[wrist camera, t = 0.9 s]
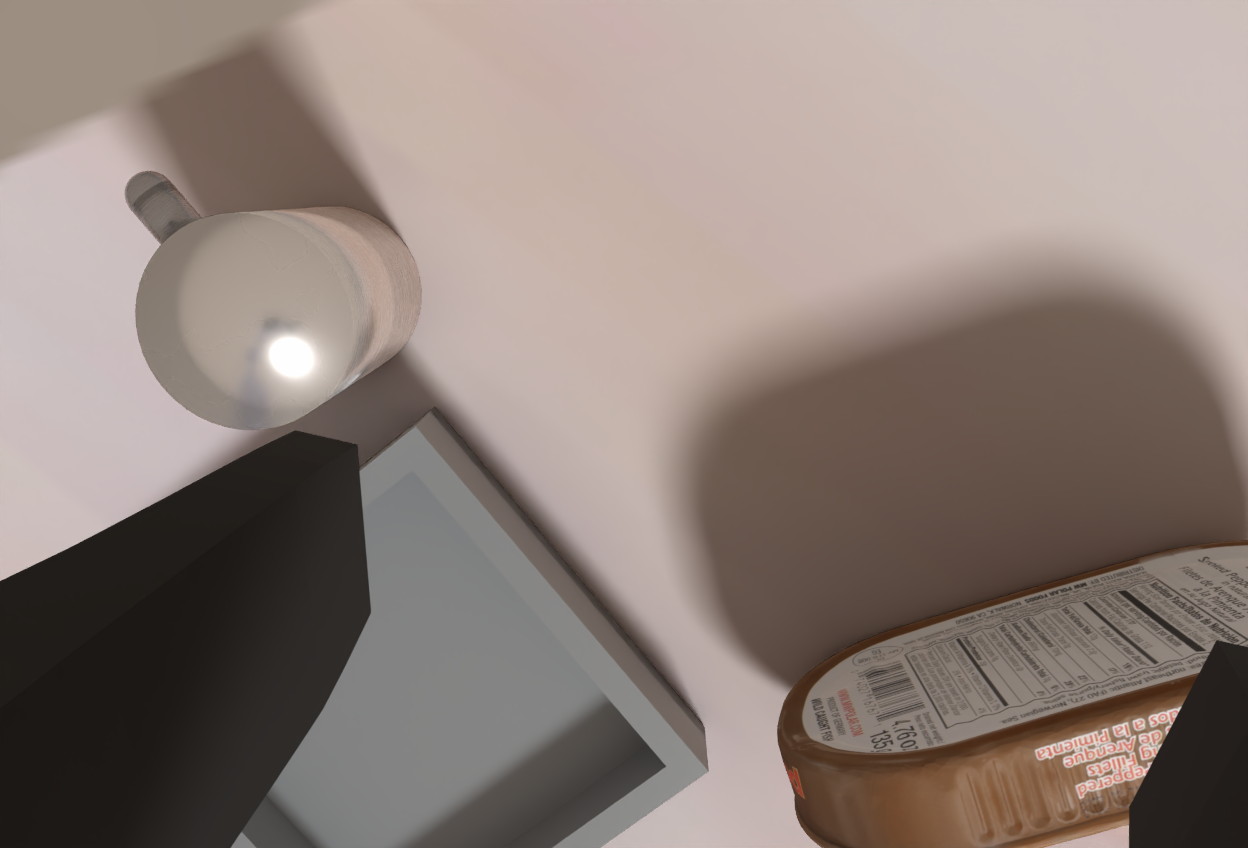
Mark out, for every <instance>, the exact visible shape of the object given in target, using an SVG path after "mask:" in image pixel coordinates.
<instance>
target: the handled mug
mask: <svg viewBox="0 0 1248 848" xmlns="http://www.w3.org/2000/svg"><path fill="white" fill-rule="evenodd" d="M125 199H126V202H127V205H128V206H129V208H130V209H131V211H132V212H133V213H134V214H135V215H136V216H137V217H138V219H139V220H140V221H141V222H142V223H143V224H144V226H145V227H146V228H147V229H148V230H149V231H150V232H151V234H152V235H153V236H154V237H155V238H156V239H157V241H158V242H159V243H160V244H161V246H160V247H159V248H158V249H157V251H156V252H155V254H154V255H153V256H152V258H151V259H150V261H149V263H148V265H147V267H146V268H145V270H144V273H143V276H142V278H141V281H140V284H139V289H138V293H137V298H136V310H135V313H136V328H137V333H138V339H139V342H140V346H141V349H142V352H143V355H144V357H145V359H146V361H147V363H148V366H149V368H150V369H151V371H152V372H153V374H154V376H155V377H156V379H157V380H158V382H159V383H160V384H161V385H162V387H163V388H164V389H165V390H166V391H167V392H168V393H169V394H170V395H171V396H172V397H173V398H174V399H175V400H176V401H177V402H178V403H179V404H181V405H182V406H183V407H185V408H186V409H187V410H189V411H190V412H192V413H194V414H195V415H197V416H199V417H201V418H203V419H205V420H207V421H210V422H212V423H215V424H218V425H221V426H224V427H229V428H235V429H242V430H261V429H269V428H274V427H279V426H282V425H285V424H288V423H291V422H293V421H295V420H297V419H299V418H301V417H303V416H305V415H306V414H308V413H309V412H311V411H312V410H314V409H315V408H317V407H319V406H320V405H322V404H323V403H325V402H326V401H328V400H329V399H331V398H332V397H334V396H335V395H337V394H338V393H340V392H341V391H343V390H344V389H346V388H347V387H349V386H350V385H352V384H354V383H355V382H357V381H358V380H360V379H361V378H363V377H364V376H366V375H367V374H369V373H370V372H372V371H373V370H375V369H376V368H378V367H379V366H381V365H382V364H384V363H385V362H387V361H388V360H390V359H391V358H392V357H394V356H395V355H396V354H397V353H398V352H399V351H400V350H401V349H402V348H403V346H404V345H405V344H406V343H407V341H408V340H409V338H410V336H411V335H412V333H413V331H414V329H415V326H416V324H417V321H418V318H419V314H420V309H421V302H422V289H421V281H420V276H419V272H418V269H417V266H416V263H415V261H414V258H413V256H412V255H411V253H410V251H409V249H408V248H407V246H406V245H405V243H404V242H403V241H402V239H401V238H400V237H399V236H398V235H397V234H396V233H395V232H394V231H393V230H392V229H391V228H390V227H389V226H387V225H386V224H385V223H383V222H382V221H380V220H379V219H377V218H376V217H374V216H372V215H369V214H367V213H365V212H362V211H359V210H356V209H352V208H347V207H336V206H329V207H313V208H298V209H282V210H267V211H251V212H236V213H224V214H217V215H212V216H208V217H204V218H201V216H200V215H199V214H198V213H197V212H196V211H195V209H194V208H193V207H192V206H191V205H190V204H189V202H188V201H187V200H186V199H185V198H184V196H183V195H182V194H181V193H180V192H179V191H178V189H177V188H176V187H175V186H174V185H173V184H172V182H171V181H170V180H169V179H168V178H166V177H165V176H164V175H162V174H160V173H157V172H152V171H145V172H140V173H138V174H136V175H134V176H133V177H132V178H131V179H130V180H129V181H128V183H127V185H126V189H125Z"/></svg>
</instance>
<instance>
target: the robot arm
mask: <svg viewBox="0 0 1248 848" xmlns="http://www.w3.org/2000/svg"><path fill="white" fill-rule="evenodd" d="M370 614H371V604H370V592H369V580H368V568H367V556H366V544H365V532H364V520H363V508H362V496H361V484H360V472H359V460H358V448H357V445H356V444H352V443H348V442H343V441H339V440H334V439H330V438H326V437H321V436H317V435H312V434H308V433H304V432H299V431H293V432H291V433H289V434H287V435H285V436H283V437H281V438H278V439H276V440H274V441H272V442H270V443H268V444H266V445H264V446H262V447H260V448H258V449H256V450H254V451H252V452H250V453H249V454H247V455H245V456H243V457H241V458H239V459H237V460H235V461H233V462H231V463H229V464H228V465H226V466H224V467H222V468H220V469H218V470H216V471H214V472H213V473H211V474H209V475H207V476H205V477H203V478H201V479H200V480H198V481H196V482H194V483H192V484H190V485H188V486H186V487H185V488H183V489H181V490H179V491H177V492H175V493H173V494H172V495H170V496H168V497H166V498H164V499H162V500H160V501H158V502H156V503H155V504H153V505H151V506H149V507H147V508H145V509H143V510H141V511H139V512H137V513H135V514H134V515H132V516H130V517H128V518H126V519H124V520H122V521H120V522H118V523H116V524H114V525H113V526H111V527H109V528H107V529H105V530H103V531H101V532H99V533H97V534H95V535H93V536H92V537H90V538H88V539H86V540H84V541H82V542H80V543H78V544H76V545H74V546H72V547H70V548H68V549H66V550H64V551H62V552H60V553H58V554H56V555H54V556H52V557H50V558H48V559H46V560H43V561H41V562H39V563H37V564H35V565H33V566H31V567H29V568H27V569H25V570H23V571H20V572H18V573H16V574H14V575H12V576H10V577H8V578H6V579H4V580H2V581H0V848H231V846H232V845H233V844H234V842H235V841H236V839H237V838H238V836H239V835H240V833H241V832H242V830H243V829H244V827H245V826H246V824H247V823H248V821H249V820H250V818H251V817H252V815H253V814H254V812H255V811H256V810H257V808H258V807H259V805H260V804H261V802H262V801H263V799H264V798H265V796H266V795H267V793H268V792H269V790H270V789H271V787H272V786H273V784H274V783H275V781H276V780H277V778H278V777H279V775H280V774H281V772H282V771H283V769H284V768H285V766H286V765H287V763H288V762H289V760H290V759H291V757H292V756H293V754H294V753H295V751H296V750H297V748H298V747H299V745H300V744H301V742H302V741H303V739H304V738H305V736H306V735H307V733H308V732H309V730H310V729H311V727H312V726H313V724H314V722H315V721H316V719H317V718H318V716H319V715H320V713H321V712H322V710H323V709H324V707H325V705H326V703H327V701H328V699H329V697H330V695H331V693H332V691H333V689H334V687H335V685H336V684H337V682H338V680H339V678H340V676H341V674H342V672H343V670H344V668H345V666H346V664H347V662H348V660H349V658H350V656H351V654H352V652H353V650H354V647H355V645H356V643H357V641H358V639H359V637H360V635H361V633H362V631H363V629H364V627H365V625H366V623H367V620H368V618H369V616H370ZM1129 848H1248V647H1245V646H1241V645H1236V644H1232V643H1228V642H1223V641H1219V640H1216V642H1215V644H1214V646H1213V648H1212V650H1211V651H1210V653H1209V655H1208V657H1207V659H1206V661H1205V663H1204V665H1203V667H1202V669H1201V671H1200V673H1199V674H1198V676H1197V678H1196V680H1195V682H1194V684H1193V686H1192V688H1191V690H1190V692H1189V694H1188V695H1187V697H1186V699H1185V701H1184V703H1183V705H1182V707H1181V709H1180V711H1179V713H1178V715H1177V716H1176V718H1175V720H1174V722H1173V724H1172V726H1171V728H1170V730H1169V732H1168V734H1167V736H1166V737H1165V739H1164V741H1163V743H1162V745H1161V747H1160V749H1159V751H1158V753H1157V755H1156V757H1155V758H1154V760H1153V762H1152V764H1151V766H1150V768H1149V770H1148V772H1147V774H1146V776H1145V778H1144V779H1143V781H1142V783H1141V785H1140V787H1139V789H1138V791H1137V793H1136V795H1135V797H1134V799H1133V801H1132V802H1131V804H1130V806H1129Z"/></svg>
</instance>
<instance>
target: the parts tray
mask: <svg viewBox="0 0 1248 848" xmlns="http://www.w3.org/2000/svg"><path fill="white" fill-rule="evenodd" d="M359 472H360V484H361V496H362V508H363V520H364V532H365V544H366V556H367V568H368V580H369V592H370V604H371V614H370V616H369V618H368V620H367V623H366V625H365V627H364V629H363V631H362V633H361V635H360V637H359V639H358V641H357V643H356V645H355V647H354V650H353V652H352V654H351V656H350V658H349V660H348V662H347V664H346V666H345V668H344V670H343V672H342V674H341V676H340V678H339V680H338V682H337V684H336V685H335V687H334V689H333V691H332V693H331V695H330V697H329V699H328V701H327V703H326V705H325V707H324V709H323V710H322V712H321V713H320V715H319V716H318V718H317V719H316V721H315V722H314V724H313V726H312V727H311V729H310V730H309V732H308V733H307V735H306V736H305V738H304V739H303V741H302V742H301V744H300V745H299V747H298V748H297V750H296V751H295V753H294V754H293V756H292V757H291V759H290V760H289V762H288V763H287V765H286V766H285V768H284V769H283V771H282V772H281V774H280V775H279V777H278V778H277V780H276V781H275V783H274V784H273V786H272V787H271V789H270V790H269V792H268V793H267V795H266V796H265V798H264V799H263V801H262V802H261V804H260V805H259V807H258V808H257V810H256V811H255V812H254V814H253V815H252V817H251V818H250V820H249V821H248V823H247V824H246V826H245V827H244V829H243V830H242V832H241V833H240V835H239V836H238V838H237V839H236V841H235V842H234V844H233V845H232V846H231V848H600V847H602V846H603V845H605V844H606V843H608V842H609V841H610V840H612V839H613V838H615V837H616V836H618V835H619V834H620V833H622V832H623V831H625V830H626V829H627V828H629V827H630V826H632V825H633V824H635V823H636V822H637V821H639V820H640V819H642V818H643V817H644V816H646V815H647V814H649V813H650V812H652V811H653V810H654V809H656V808H657V807H659V806H660V805H662V804H663V803H664V802H666V801H667V800H669V799H670V798H671V797H673V796H674V795H676V794H677V793H679V792H680V791H681V790H683V789H684V788H686V787H687V786H688V785H690V784H691V783H693V782H694V781H696V780H697V779H698V778H700V777H701V776H703V775H704V774H706V773H707V772H708V760H707V749H706V738H705V727H704V726H703V724H702V723H701V722H700V721H699V720H698V719H697V717H696V716H695V715H694V714H693V713H692V711H691V710H690V709H689V708H688V707H687V705H686V704H685V703H684V702H683V701H682V700H681V698H680V697H679V696H678V695H677V694H676V692H675V691H674V690H673V689H672V688H671V686H670V685H669V684H668V683H667V682H666V681H665V679H664V678H663V677H662V676H661V675H660V673H659V672H658V671H657V670H656V669H655V668H654V666H653V665H652V664H651V663H650V662H649V660H648V659H647V658H646V657H645V656H644V654H643V653H642V652H641V651H640V650H639V649H638V647H637V646H636V645H635V644H634V643H633V641H632V640H631V639H630V638H629V637H628V636H627V634H626V633H625V632H624V631H623V630H622V628H621V627H620V626H619V625H618V624H617V622H616V621H615V620H614V619H613V618H612V617H611V615H610V614H609V613H608V612H607V611H606V609H605V608H604V607H603V606H602V605H601V603H600V602H599V601H598V600H597V599H596V598H595V596H594V595H593V594H592V593H591V592H590V590H589V589H588V588H587V587H586V586H585V585H584V583H583V582H582V581H581V580H580V579H579V577H578V576H577V575H576V574H575V573H574V571H573V570H572V569H571V568H570V567H569V566H568V564H567V563H566V562H565V561H564V560H563V558H562V557H561V556H560V555H559V554H558V553H557V551H556V550H555V549H554V548H553V547H552V545H551V544H550V543H549V542H548V541H547V539H546V538H545V537H544V536H543V535H542V534H541V532H540V531H539V530H538V529H537V528H536V526H535V525H534V524H533V523H532V522H531V520H530V519H529V518H528V517H527V516H526V515H525V513H524V512H523V511H522V510H521V509H520V507H519V506H518V505H517V504H516V503H515V502H514V500H513V499H512V498H511V497H510V496H509V494H508V493H507V492H506V491H505V490H504V488H503V487H502V486H501V485H500V484H499V483H498V481H497V480H496V479H495V478H494V477H493V475H492V474H491V473H490V472H489V471H488V470H487V468H486V467H485V466H484V465H483V464H482V462H481V461H480V460H479V459H478V458H477V456H476V455H475V454H474V453H473V452H472V451H471V449H470V448H469V447H468V446H467V445H466V443H465V442H464V441H463V440H462V439H461V437H460V436H459V435H458V434H457V433H456V432H455V430H454V429H453V428H452V427H451V426H450V424H449V423H448V422H447V421H446V420H445V419H444V417H443V416H442V415H441V414H440V413H439V411H438V410H437V409H436V408H435V407H434V408H433V409H432V410H430V411H429V412H428V413H427V414H425V415H424V416H423V417H422V418H420V419H419V420H418V421H417V422H416V423H414V424H413V425H412V426H411V427H409V428H408V429H407V430H406V431H404V432H403V433H402V434H401V435H399V436H398V437H397V438H396V439H394V440H393V441H392V442H391V443H389V444H388V445H387V446H386V447H384V448H383V449H382V450H381V451H380V452H378V453H377V454H376V455H375V456H373V457H372V458H371V459H370V460H368V461H367V462H366V463H365V464H363V465H362V466H361V467H360V468H359Z"/></svg>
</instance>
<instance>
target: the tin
mask: <svg viewBox="0 0 1248 848" xmlns="http://www.w3.org/2000/svg"><path fill="white" fill-rule="evenodd" d="M1216 640H1219V641H1223V642H1228V643H1232V644H1236V645H1241V646H1245V647H1248V540H1242V541H1224V542H1216V543H1208V544H1201V545H1194V546H1187V547H1182V548H1177V549H1171V550H1167V551H1163V552H1158V553H1155V554H1151V555H1147V556H1143V557H1140V558H1136V559H1133V560H1129V561H1126V562H1122V563H1118V564H1114V565H1111V566H1108V567H1104V568H1101V569H1097V570H1094V571H1091V572H1087V573H1083V574H1080V575H1076V576H1072V577H1069V578H1065V579H1062V580H1058V581H1055V582H1051V583H1048V584H1044V585H1041V586H1037V587H1034V588H1030V589H1027V590H1023V591H1020V592H1017V593H1013V594H1010V595H1006V596H1003V597H1000V598H996V599H993V600H989V601H986V602H982V603H979V604H976V605H972V606H969V607H965V608H962V609H958V610H955V611H952V612H948V613H945V614H942V615H938V616H935V617H932V618H928V619H925V620H922V621H919V622H915V623H912V624H909V625H905V626H902V627H899V628H895V629H892V630H890V631H887V632H884V633H881V634H878V635H876V636H873V637H871V638H868V639H866V640H863V641H861V642H859V643H856V644H854V645H852V646H850V647H848V648H846V649H844V650H842V651H840V652H839V653H837V654H835V655H833V656H832V657H830V658H828V659H827V660H825V661H824V662H822V663H821V664H819V665H818V666H816V667H815V668H814V669H812V670H811V671H810V672H809V673H807V674H806V675H805V676H804V677H803V678H802V679H801V680H800V681H799V682H798V683H797V684H796V685H795V686H794V687H793V689H792V690H791V691H790V692H789V694H788V695H787V697H786V699H785V701H784V703H783V707H782V710H781V713H780V717H779V722H778V729H777V736H778V744H779V748H780V752H781V755H782V759H783V762H784V765H785V768H786V771H787V774H788V776H789V779H790V782H791V785H792V788H793V791H794V794H795V810H796V815H797V818H798V821H799V823H800V825H801V827H802V828H803V829H804V831H805V832H806V834H807V835H808V836H809V837H810V838H811V839H812V840H813V841H814V842H815V843H817V844H818V845H819V846H820V847H822V848H1044V847H1047V846H1051V845H1054V844H1058V843H1062V842H1066V841H1070V840H1073V839H1077V838H1081V837H1085V836H1089V835H1093V834H1097V833H1100V832H1103V831H1108V830H1111V829H1115V828H1118V827H1121V826H1126V825H1129V806H1130V804H1131V802H1132V801H1133V799H1134V797H1135V795H1136V793H1137V791H1138V789H1139V787H1140V785H1141V783H1142V781H1143V779H1144V778H1145V776H1146V774H1147V772H1148V770H1149V768H1150V766H1151V764H1152V762H1153V760H1154V758H1155V757H1156V755H1157V753H1158V751H1159V749H1160V747H1161V745H1162V743H1163V741H1164V739H1165V737H1166V736H1167V734H1168V732H1169V730H1170V728H1171V726H1172V724H1173V722H1174V720H1175V718H1176V716H1177V715H1178V713H1179V711H1180V709H1181V707H1182V705H1183V703H1184V701H1185V699H1186V697H1187V695H1188V694H1189V692H1190V690H1191V688H1192V686H1193V684H1194V682H1195V680H1196V678H1197V676H1198V674H1199V673H1200V671H1201V669H1202V667H1203V665H1204V663H1205V661H1206V659H1207V657H1208V655H1209V653H1210V651H1211V650H1212V648H1213V646H1214V644H1215V642H1216Z"/></svg>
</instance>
